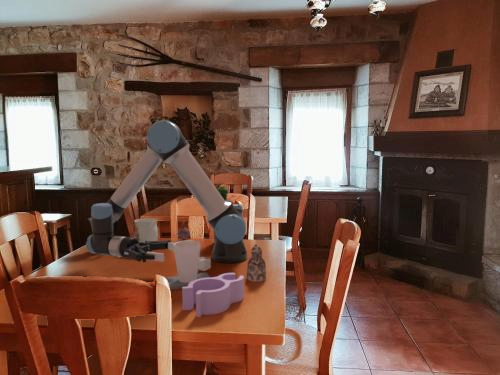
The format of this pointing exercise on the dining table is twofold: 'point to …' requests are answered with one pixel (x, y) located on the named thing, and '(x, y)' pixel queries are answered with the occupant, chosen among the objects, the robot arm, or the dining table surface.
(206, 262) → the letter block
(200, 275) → the slate mat
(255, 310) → the dining table surface
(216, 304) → the clip
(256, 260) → the figurine
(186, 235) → the vegetable
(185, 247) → the foam cup
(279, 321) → the dining table surface
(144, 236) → the pitcher
